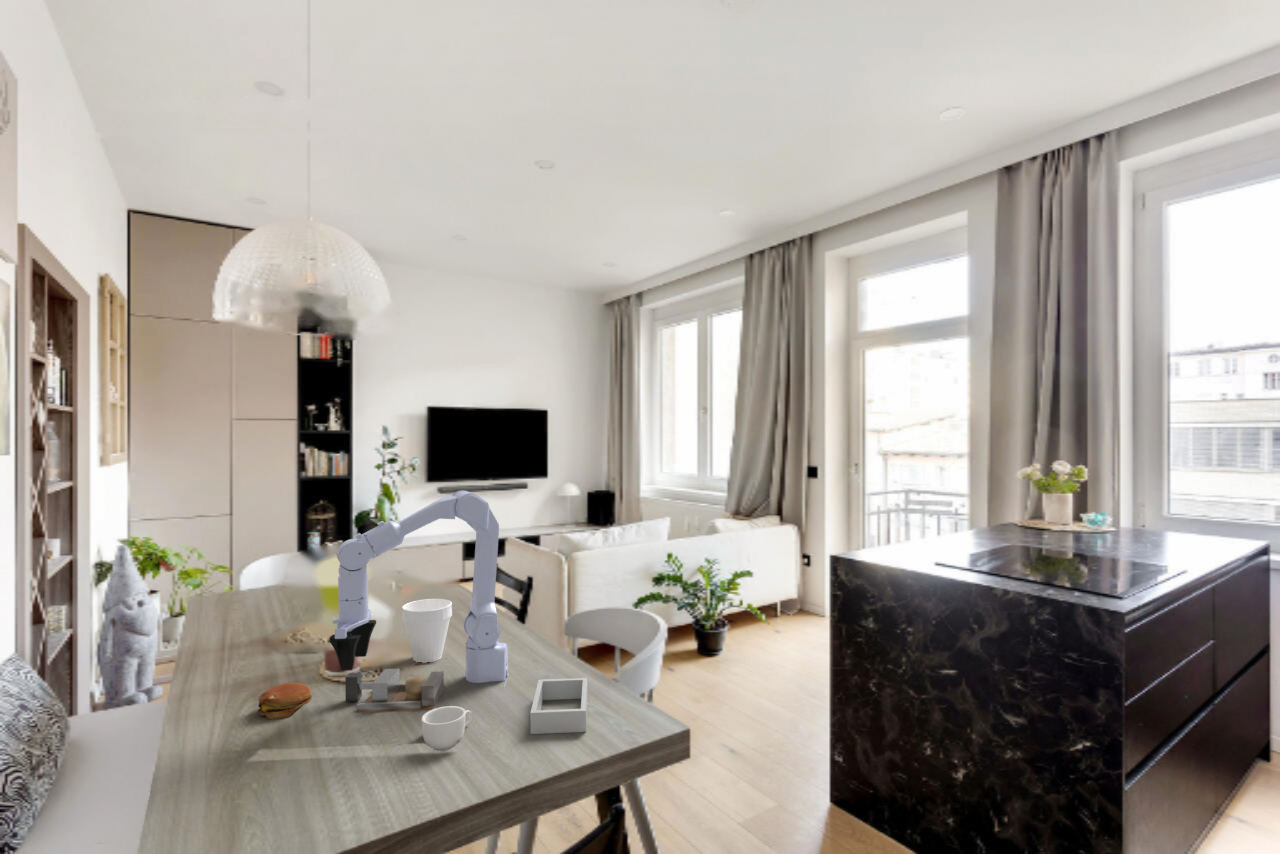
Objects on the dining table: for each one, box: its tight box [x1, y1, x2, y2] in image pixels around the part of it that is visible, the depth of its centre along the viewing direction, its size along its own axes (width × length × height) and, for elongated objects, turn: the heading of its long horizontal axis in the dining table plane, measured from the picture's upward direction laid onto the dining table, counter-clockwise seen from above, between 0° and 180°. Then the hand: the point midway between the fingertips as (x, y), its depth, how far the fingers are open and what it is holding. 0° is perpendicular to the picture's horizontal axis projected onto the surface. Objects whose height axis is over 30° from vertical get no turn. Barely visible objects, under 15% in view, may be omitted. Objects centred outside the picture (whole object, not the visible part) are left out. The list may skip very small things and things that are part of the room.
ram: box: [344, 668, 401, 703], centre depth 134 cm, size 9×8×5 cm
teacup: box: [421, 705, 473, 751], centre depth 119 cm, size 10×8×5 cm
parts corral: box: [529, 677, 589, 735], centre depth 130 cm, size 10×16×4 cm, turn 4°
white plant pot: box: [401, 598, 453, 664], centre depth 164 cm, size 12×12×14 cm
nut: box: [404, 675, 427, 701], centre depth 135 cm, size 4×4×4 cm
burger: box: [257, 682, 313, 720], centre depth 134 cm, size 10×9×5 cm
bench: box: [355, 670, 447, 714], centre depth 135 cm, size 15×12×6 cm
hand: (354, 662), depth 134 cm, fingers open, 7 cm apart
